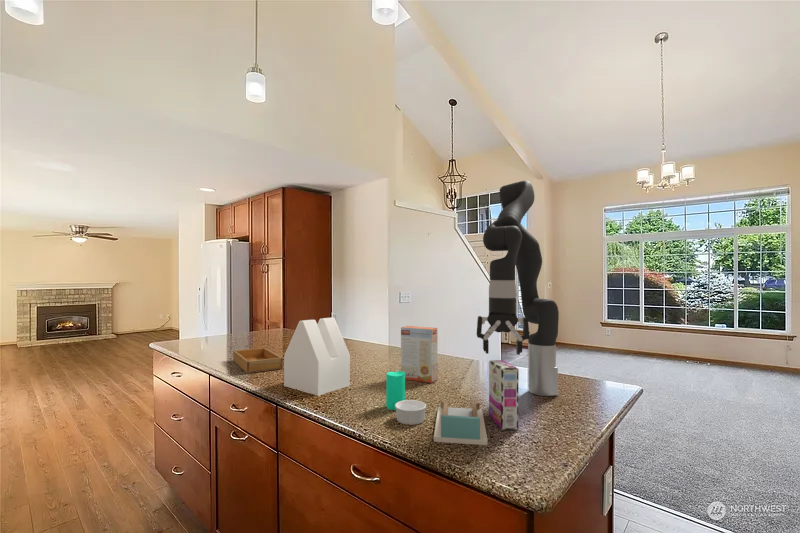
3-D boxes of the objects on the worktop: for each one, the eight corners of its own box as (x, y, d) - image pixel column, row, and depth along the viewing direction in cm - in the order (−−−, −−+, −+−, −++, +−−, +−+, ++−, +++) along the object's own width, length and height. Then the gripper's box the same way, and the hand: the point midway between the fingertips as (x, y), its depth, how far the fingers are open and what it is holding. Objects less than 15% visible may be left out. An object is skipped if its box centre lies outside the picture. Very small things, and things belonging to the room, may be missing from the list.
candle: (407, 404, 120) (407, 366, 121) (401, 411, 115) (401, 371, 115) (390, 402, 122) (390, 365, 123) (383, 408, 117) (383, 369, 117)
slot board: (481, 412, 113) (481, 392, 113) (487, 445, 91) (487, 419, 91) (438, 410, 115) (438, 389, 115) (433, 441, 93) (433, 416, 93)
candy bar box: (519, 430, 100) (519, 368, 101) (501, 431, 100) (501, 368, 100) (504, 415, 111) (504, 359, 112) (488, 415, 111) (488, 359, 112)
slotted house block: (349, 385, 142) (350, 319, 142) (318, 396, 129) (318, 323, 130) (315, 377, 153) (316, 316, 154) (283, 386, 141) (284, 319, 142)
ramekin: (430, 424, 105) (430, 408, 105) (400, 427, 102) (400, 411, 102) (420, 413, 113) (420, 398, 113) (391, 416, 111) (391, 401, 111)
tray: (233, 361, 183) (233, 349, 184) (265, 358, 192) (265, 346, 192) (246, 375, 158) (246, 361, 158) (282, 370, 166) (282, 357, 166)
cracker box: (438, 380, 149) (438, 327, 150) (431, 383, 144) (431, 329, 145) (407, 375, 157) (407, 325, 157) (400, 378, 152) (400, 326, 152)
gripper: (526, 296, 109) (526, 352, 109) (476, 295, 112) (476, 350, 111) (530, 297, 102) (531, 357, 102) (477, 296, 104) (477, 355, 104)
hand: (502, 353), depth 106 cm, fingers open, 8 cm apart
